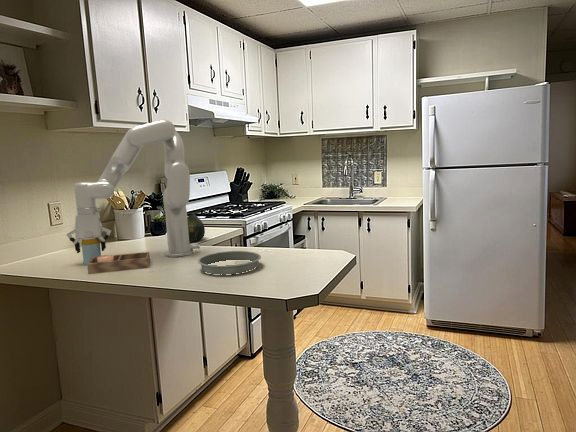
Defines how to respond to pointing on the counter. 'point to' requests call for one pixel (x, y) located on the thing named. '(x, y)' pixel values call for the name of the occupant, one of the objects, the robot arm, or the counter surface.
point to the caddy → (120, 263)
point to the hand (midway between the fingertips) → (91, 251)
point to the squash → (195, 228)
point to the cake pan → (229, 256)
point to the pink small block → (105, 258)
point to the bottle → (90, 247)
